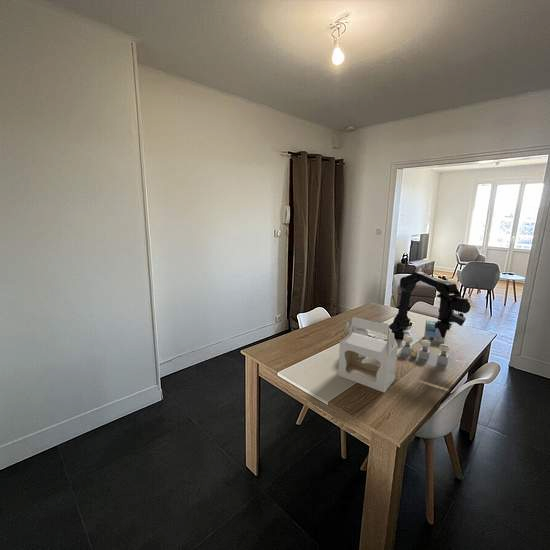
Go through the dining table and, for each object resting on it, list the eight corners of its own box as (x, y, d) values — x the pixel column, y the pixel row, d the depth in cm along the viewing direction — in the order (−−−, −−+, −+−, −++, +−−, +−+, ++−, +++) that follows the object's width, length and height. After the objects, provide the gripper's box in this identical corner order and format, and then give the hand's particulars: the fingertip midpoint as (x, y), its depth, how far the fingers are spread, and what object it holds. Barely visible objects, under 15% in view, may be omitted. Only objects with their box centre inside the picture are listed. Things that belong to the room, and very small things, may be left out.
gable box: (395, 380, 135) (400, 322, 129) (385, 393, 124) (391, 331, 119) (349, 364, 148) (352, 311, 143) (337, 375, 138) (340, 318, 132)
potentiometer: (409, 358, 153) (410, 350, 152) (411, 356, 155) (411, 348, 154) (415, 359, 151) (416, 352, 150) (417, 357, 153) (418, 350, 153)
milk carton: (366, 353, 161) (369, 320, 157) (366, 358, 154) (368, 324, 150) (353, 351, 163) (355, 318, 159) (352, 356, 156) (354, 322, 152)
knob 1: (401, 347, 158) (402, 337, 157) (404, 344, 161) (405, 334, 160) (410, 349, 155) (411, 339, 154) (412, 346, 159) (413, 336, 157)
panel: (396, 357, 156) (397, 348, 155) (402, 348, 166) (403, 340, 165) (448, 371, 142) (449, 362, 141) (451, 361, 152) (453, 352, 151)
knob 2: (437, 356, 148) (438, 345, 146) (439, 353, 151) (440, 342, 150) (447, 359, 145) (449, 348, 144) (448, 355, 148) (450, 345, 147)
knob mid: (419, 351, 153) (420, 341, 152) (421, 348, 156) (422, 338, 155) (428, 354, 150) (429, 343, 149) (430, 350, 153) (431, 340, 152)
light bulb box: (424, 339, 178) (426, 323, 176) (423, 335, 184) (425, 319, 182) (444, 342, 174) (447, 325, 172) (443, 338, 180) (445, 321, 178)
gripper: (463, 315, 134) (460, 347, 136) (467, 306, 148) (463, 335, 151) (435, 311, 140) (433, 342, 143) (441, 302, 155) (439, 331, 158)
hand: (443, 337), depth 148 cm, fingers closed
